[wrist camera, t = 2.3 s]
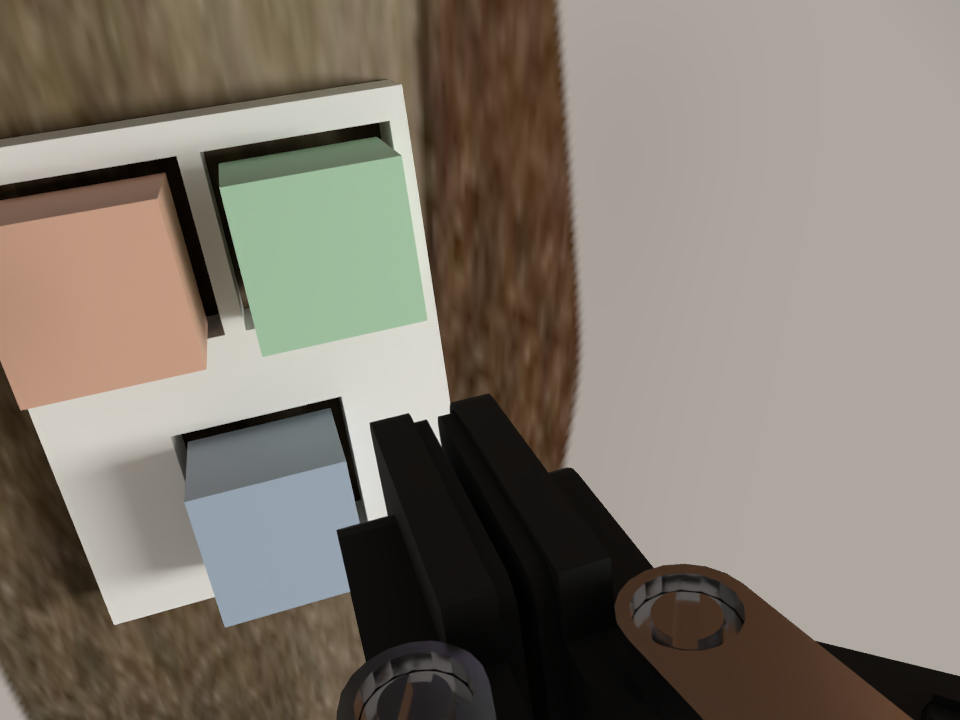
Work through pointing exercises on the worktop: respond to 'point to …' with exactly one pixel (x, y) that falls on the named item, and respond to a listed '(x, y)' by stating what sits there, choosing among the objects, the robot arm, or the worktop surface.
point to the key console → (219, 352)
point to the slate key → (271, 514)
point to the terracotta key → (96, 291)
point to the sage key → (324, 243)
